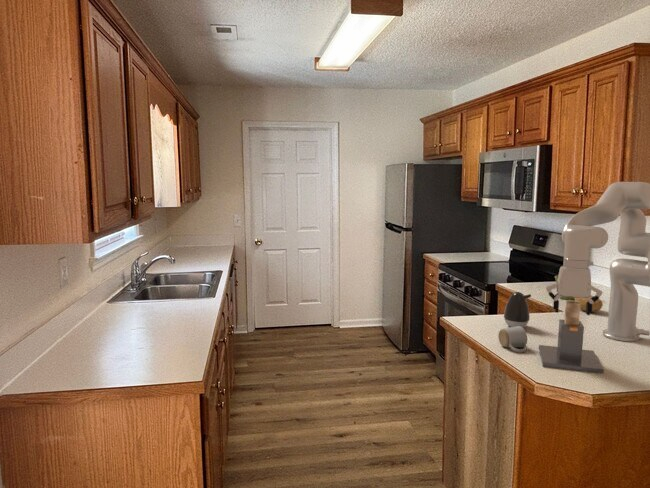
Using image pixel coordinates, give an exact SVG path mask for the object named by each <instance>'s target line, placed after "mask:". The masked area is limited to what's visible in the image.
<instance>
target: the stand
mask: <svg viewBox="0 0 650 488" xmlns="http://www.w3.org/2000/svg"><path fill="white" fill-rule="evenodd" d="M584 330H585V327H584V324H583V322H582V321H580V320H579V326H577V325H566V324H564V319H559V320H558V332H557V333H558V335H557V346H555V345H554V346H553V345H545V344H543V345H542V344H538V352H539V356H540V360H541V365H542V367H545V368H551V369H552V368H553V369H559V370H560V369H561V370H562V369H563V370H570V371H575V372H577V371H578V372H586V373H594V374H595V373H596V374H604V367H603V366H602V364H601V362H600V360H599V359H598V357H597V355H596V353H595V352H594V350H592V349H591V350H590V349H583V345H584V333H585V331H584Z"/></svg>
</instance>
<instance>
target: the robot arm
mask: <svg viewBox="0 0 650 488" xmlns="http://www.w3.org/2000/svg"><path fill="white" fill-rule="evenodd" d="M642 210H650V183H648V182H645V181H616V182H613V183H611V184H610V185H609V186H608V187H606V190H605V191H603V194H601V196H600V198H599V199H598V200H597V202H596V203H595V204H594V205H592V206H589V207H588V208H585V209H583V210H581V211H579V212H577V213H575V214H574V215H573V216H572V217H571V218H570V219H569V220H568V221H567V223H566V224H565V226H564V228H563V229H562V231H561V239H562V242H563V243H564V251H563V252H564V253H563V262H562V263H563V264H562V265H561V266H560V268H559V272H558V275H557V276H558V282H557V283H556V282H555V283H552V284H551V285H550V284H549V285H547V286H546V287H545V289H546V291H547V292H546V293H547V294H548V295H549V296H550V298H551V299H552V301H553V307H552V309H553V310H554V311H555V313H559V307H560V301H559V300H560V298H561V297H562V296H564V297H574V298H575V297H576V298H586V299H587V300H588V302H587V303H586V311H585V314H586V315H587V316H590V315H591V313H593V312H592V304H593V303H594V302H595V301H597V300H598V299H600V297H601V296H602V295H603V291H602V290H601V289H599V288H597V287H595V286H593V285H592V277H591V276H592V275H591V274H592V273H591V269H590V268H589V267H590V266H594V261H591V260H590V249H601V248H603V247H605V246H606V245H607V243H608V241H609V233H608V232H607V230H606V229H605V228H603V227H600V226H598V225H605V224H608V223H612V222H614V221H615V220H617V219H618V218H619V216H620V218H619V219H620V223H619V224H620V225H619V229H618V231H619V232H618V238H617V239H618V240H617V250H618V253H620V254H622V255H623V256H630V257H637V258H639V257H640V258H645V259H647V260H639V259H634V258H633V259H632V258H624V257H623V258H616V259H615V260H612V261H611V263H610V265H609V278H610V280H609V281H610V294H609V295H610V296H609V305H608V306H609V307H608V318H607V328H606V329H604V330H603V331H602V335H603V336H604V337H606V338H609V339H611V340H615V341H621V342H637V341H640V336H650V330H646V329H643V328H638V327H637V316H638V306H639V293H638V291H637V288H636V287H635V286H634V285H637V286H643V287H649V288H650V232H646V226H647V217H646V216H645V214H644V212H643V211H642ZM554 289H556V294H554V292H552V290H554ZM592 291H593V292H595V295H594V297H592V298H590V295H591V294H592ZM591 296H592V295H591Z"/></svg>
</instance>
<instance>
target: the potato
mask: <svg viewBox="0 0 650 488" xmlns="http://www.w3.org/2000/svg"><path fill="white" fill-rule="evenodd" d="M594 296H595V295H594ZM594 296H593V295H590V298H592V297H594ZM574 301H579V303H580V310H581V311H583V312H586V303H587V302H588V300H587V299H586V298H576V297H574ZM603 304H604V303H603V301H602V300H601V299H600V298H599V299H598V300H597V301H595V302H594V303H593V304H592V312H591V313H595V312H598V311H600V310H601V309H602V308H603V306H604V305H603Z"/></svg>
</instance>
